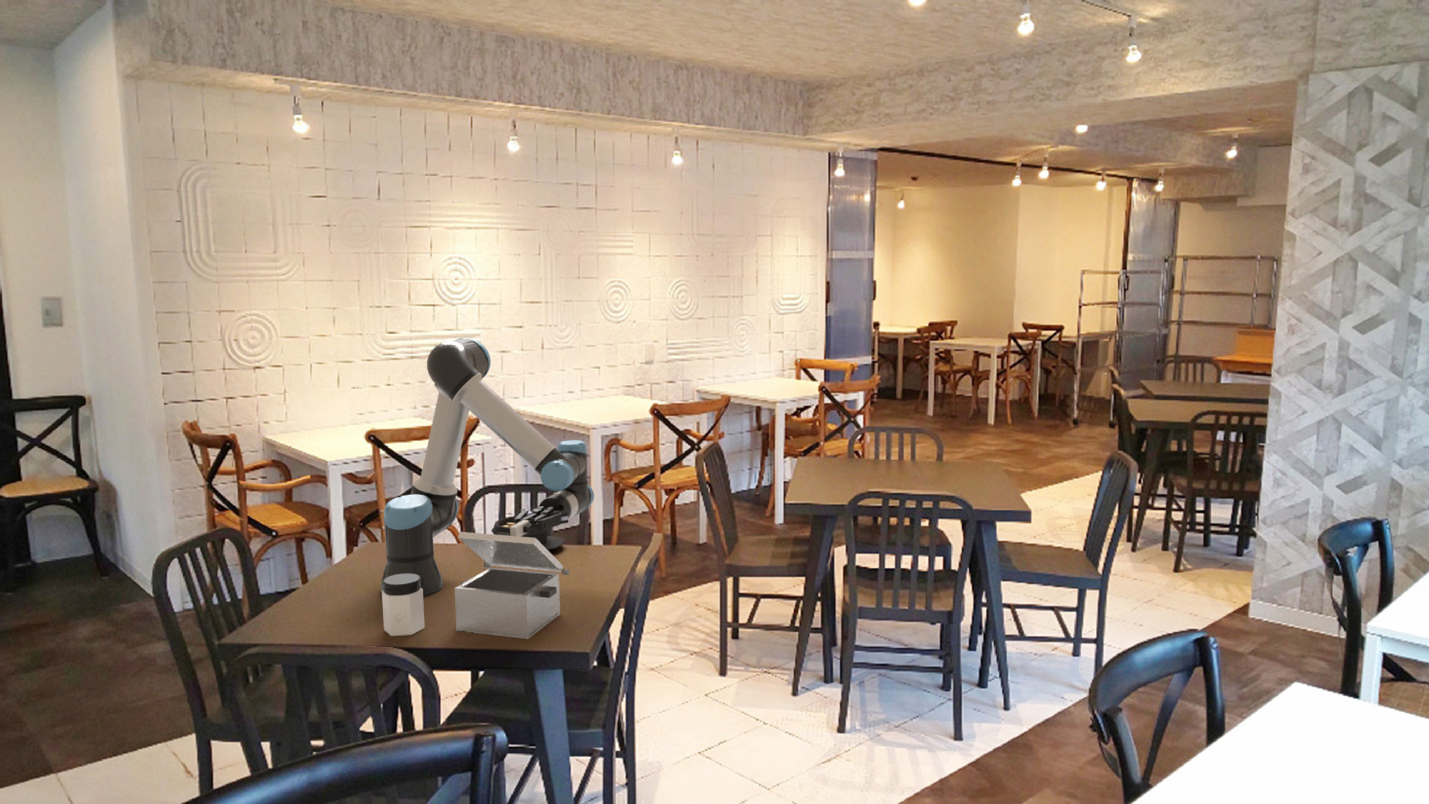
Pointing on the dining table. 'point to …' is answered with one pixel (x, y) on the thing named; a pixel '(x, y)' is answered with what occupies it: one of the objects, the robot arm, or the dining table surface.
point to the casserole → (541, 536)
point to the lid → (511, 551)
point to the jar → (403, 604)
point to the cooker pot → (507, 602)
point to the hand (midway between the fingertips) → (513, 533)
